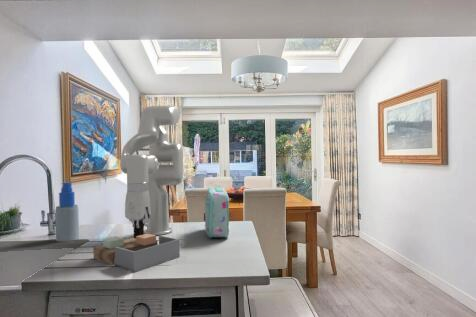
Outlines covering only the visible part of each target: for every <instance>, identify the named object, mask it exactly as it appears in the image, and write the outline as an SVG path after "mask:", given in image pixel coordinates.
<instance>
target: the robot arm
mask: <svg viewBox="0 0 476 317" xmlns="http://www.w3.org/2000/svg"><path fill="white" fill-rule="evenodd" d="M180 116H181V115H180V109H179V108H178V106H176V105H151V106H150V105H149V106H146V107H144V108H143V110H142V112H141V116H140V120H139V121H140V122H139V126H138V129H137V130H138V132H137V133H136V134H135V135H133V136H132V137H131V138H130V139H129V140H128V141H126V143H125V144H124V146H123V149H122V152H121V156H120V162H119V166H120V167H119V168H120V170H121V172H122V173H123V174H125V175H126V193H125V194H126V195H125V202H124V217H125V218H126V219H127V220H129V222H131V223H132V228H133V237H134V238H135V239H136V236H139V235H143V234H152V235H156V236H163V235H167V234H170V233H172V232H173V228H172V227H170V226H169V224H170V223H169V221H170V220H169V194H168V192H167V190H166V189H165V188H164V187H163V186H176V185H181V183H182V182H183V180H184V178H183V177H184V152H183V150H184V149H183V148H182V145H181V144H180V143H177V142H168V139H169V138H168V136H169V135H168V132H167V130H166V129H165V128H164V127H163V126H174V125H176V124H178V123H179V120H180ZM147 146H148V154H135V152H137V151H139V150H140V149H143V148H145V147H147ZM169 163H171V164H169ZM145 227H146V229H145Z"/></svg>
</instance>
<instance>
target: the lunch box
mask: <svg viewBox="0 0 476 317" xmlns="http://www.w3.org/2000/svg"><path fill="white" fill-rule="evenodd" d="M229 199H230V198H229V195H228V192H227V191H226V190H225V188H222V187H221V185H214V187H208V188H207V192H206V195H205V201H204V202H205V206H204V213H203V221H204V223H205V224H204V226H205V227H204V228H205V233H206V235H207V237H208V238H228V237H229V235H230V227H229V225H230V209H229V208H230V207H229V205H230V203H229V201H230V200H229Z"/></svg>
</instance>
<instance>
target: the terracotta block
mask: <svg viewBox="0 0 476 317" xmlns="http://www.w3.org/2000/svg"><path fill="white" fill-rule="evenodd" d="M156 240H157V235H152V234H145V233H144V234H143V235H139V236H136V243H137V244H140V245H144V246H145V245H148V244H152V243H156Z"/></svg>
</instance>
